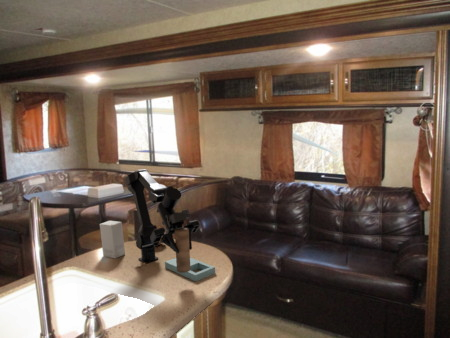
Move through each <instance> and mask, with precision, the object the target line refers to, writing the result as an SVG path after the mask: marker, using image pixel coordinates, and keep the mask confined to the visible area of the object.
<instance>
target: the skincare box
mask: <svg viewBox="0 0 450 338" xmlns="http://www.w3.org/2000/svg"><path fill="white" fill-rule="evenodd" d="M123 229H124V228H123V222H122V221H116V220H107V221H105V222H102V223H99V233H100V238H101V239H100V240H101V247H102V254H103V255H102V256H103V257H106V258H110V259H118V258H120V257H122V256H124V255H126V250H125V249H126V248H125V240H124V231H123Z"/></svg>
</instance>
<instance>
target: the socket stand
mask: <svg viewBox="0 0 450 338" xmlns="http://www.w3.org/2000/svg"><path fill="white" fill-rule="evenodd" d="M164 268H166V269H168V270H170V271H172V272H174V273H176V274H179V275H180V276H183V277H184V278H187V279H189V280H191V281H194V282H196V283H197V282H198V281H201V280H203V279H205V278H208V277H210V276H212V275H215V274H216V267H215V266H214V265H211V264H208V263H206V262H203V261H201V260H198V259H196V258H193V257H191V256H190V271H188V272H185V273H180V272H177V264H176V257H174V258H172V259H169V260H165V261H164ZM196 270H199V271H197V272H195V271H196Z"/></svg>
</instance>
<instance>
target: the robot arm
mask: <svg viewBox="0 0 450 338" xmlns="http://www.w3.org/2000/svg"><path fill="white" fill-rule="evenodd" d="M124 183H125V186H127V190H128V192H130V193H131V194H132V196H133V200H134V204H135V209H136V213H137V219H138V221H139V229H138V232H137V235H138V237H137V239H136V241H135V246H136V247H137V248H138V249H139V250H140V251H141V252H140V254H141V257H138V260H139V261H141V262H143V263H144V264H147V263H151V262H153V261H154V262H155V261H156V260H159V257H157V256H156V249H155V247H156V246H159V245H160V244H159V241H160V239H161V244H164V245H165V246H167V247H169V249H171V250H172V251H173V252H175V254H176V253H179V251H178V248H177V246H176V243H175V238H174V237H173V236H174V235H175V230H176V229H180V228H187V229H189V247H190V251H191V250H192V249H193V246H192V234H195V233H197V231H198V230H199V229H200V227H201V222H200V221H199V220H197V219H194V220H189V221H188V219H189V218H190V217H191V213H190V210H189V209H186V208H185V209H182V210H181V212H176V210H175V208H176V207H177V205H178V203H179V201H180V199H181V197H182V192H181V191H180V190H179V189H178V188H176V187H174V186H173V185H167V186H166V185H164V184H161V183H158V182H157V181H156V180H155V178H154V177H153V176H152V175H151V174H150V173H149V171H148V169H145V168H143V169H137V170H135V171H134V172H132V173H129V174H127V175H126V176H125V178H124ZM145 189H146V190H147V191H148V197H149V200H150V202H151V203H152V204H158V205H157V207H156V208H157V209H156V213H159V215H160V218H161V220H162V222H161V224H162V226H161V228H157V227H156V225H157V224H153V222H152V221H151V216H150V212H149V209H148V204H147V200H146V195H145ZM185 221H188V222H187V224H186V225H184V224H185ZM163 226H164V227H165V228H164V227H163Z"/></svg>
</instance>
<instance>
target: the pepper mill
mask: <svg viewBox="0 0 450 338" xmlns="http://www.w3.org/2000/svg"><path fill="white" fill-rule="evenodd" d="M174 241H175V243H176V246H177V248H178V251H179V253H176V252H175V258H176V264H177V272H180V273H185V272H188V271H190V257H191V253H190V252H191V250H190V247H189V229H187V228H180V229H176V230H175V234H174Z"/></svg>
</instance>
